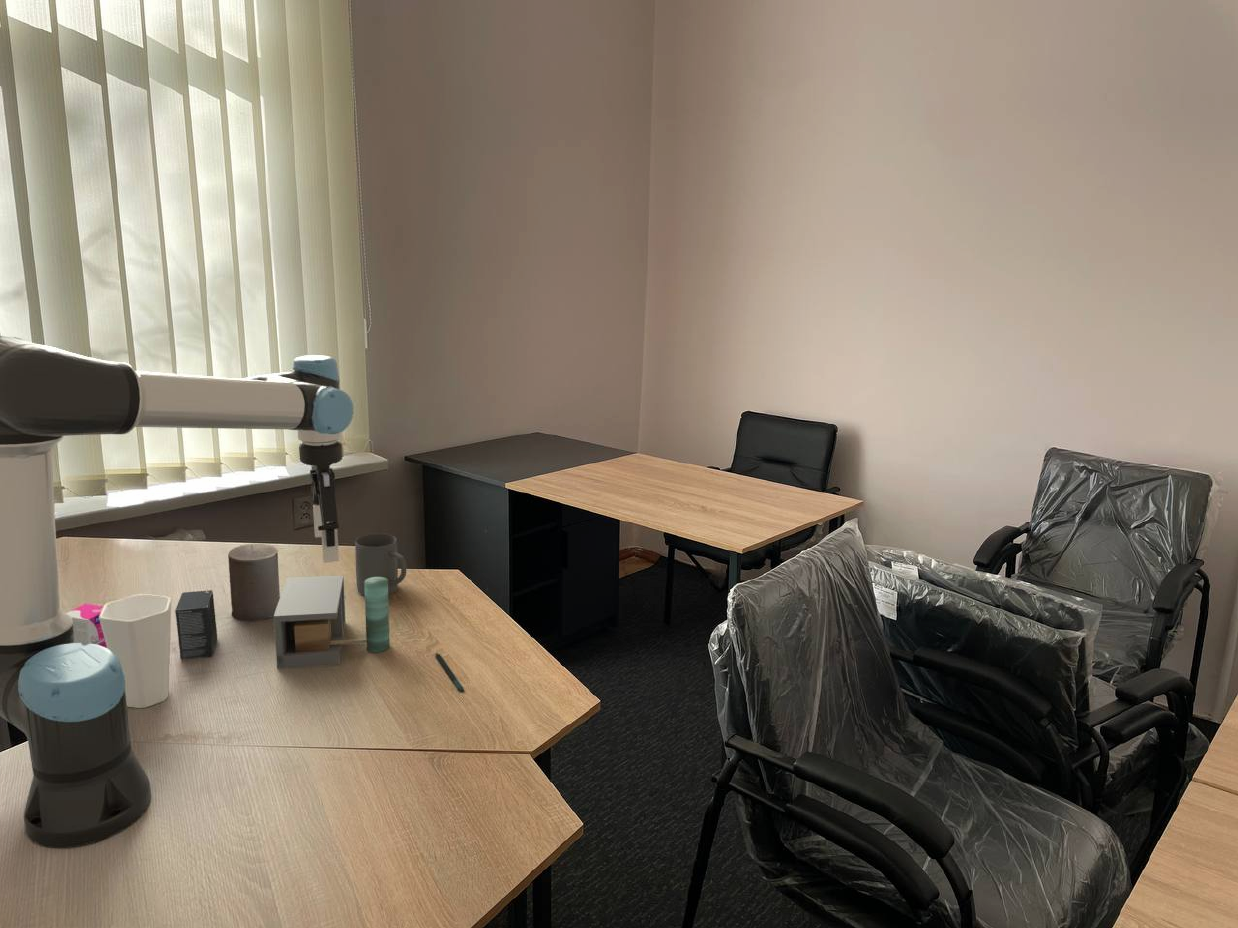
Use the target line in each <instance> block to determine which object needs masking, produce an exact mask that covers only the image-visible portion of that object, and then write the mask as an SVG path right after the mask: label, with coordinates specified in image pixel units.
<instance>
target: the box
mask: <svg viewBox="0 0 1238 928" xmlns="http://www.w3.org/2000/svg"><path fill="white" fill-rule="evenodd" d="M214 599H215V598H214V593H213V590H212V589H209V590H197V591H188V592H187V591H186V592H182V593H181V595H180V598H179V600H178V603H177V605H176V607H175V610H174V612H175V619H176V628H177V629H176V630H177V637H178V640H177V641H178V647H179V656H180V660H182V661H183V660H191V659H205V658H211V657H212V656H214V655H213V654H214V651H215V648H216V644H217V641H218V630H217V620H216V610H215V602H214Z"/></svg>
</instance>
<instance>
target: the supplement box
mask: <svg viewBox="0 0 1238 928" xmlns="http://www.w3.org/2000/svg"><path fill="white" fill-rule="evenodd" d="M103 607H104V605H103V606H102V605H97V604H96V605H95V604H89V603H83V604H82V605H80V606H77V607H76V608H74V609H71V610H70V611H68V612H65V613H66V614H68V615H69V616H71V617H72V619H73V630H74V643H82V644H83V645H88V644H96V645H100V646H103V647H105V648H107V645H106V642H105V638H104V634H103V631H102V627H101V623H100V620H99V616H100V613H101V611H102V609H103Z"/></svg>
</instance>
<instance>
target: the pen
mask: <svg viewBox="0 0 1238 928" xmlns="http://www.w3.org/2000/svg"><path fill="white" fill-rule="evenodd" d="M435 659H436V660H437V661H438V663H439V664H440V666H441V668H442V669H443V670H444V672H445V674H446V675H447V676H448V678H449V679H450V681H451V683H452V684H453V685H454V687H455V688H456V690H457V691H458V692H459V693H462V692H464V691H465V689H464V686H463V685H462V684H461V683H460V682H459V680H458V679H457V677H456V675H455V674H454V672H453V671H452V670H451V668H450V667H449V665H448V664H447V662H446V661H445V659H444V658H443V656H442V655H441V654H440V653H438V652H435Z"/></svg>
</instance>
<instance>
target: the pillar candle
mask: <svg viewBox="0 0 1238 928" xmlns="http://www.w3.org/2000/svg"><path fill="white" fill-rule="evenodd" d="M278 552H279V550H278V548H277V547H276V546H274V545H272V544H270V543H269V544H268V543H248V544H242V545H239V546H236V547H234V548H232V549H230V550H229V551H228V554H227V556H228V557H227V558H228V572H229V573H228V574H229V583H230V585H229V587H230V589H229V590H230V601H231V603H230V604H231V616H232V618H235V619H236V620H240V621H242V622H243V621H245V622H256V621H263V620H266V619H270V618H272V617H273V618H274V614H275V611H276V608H277V605H278V602H279V599H280V596H281V593H280V592H281V591H280V575H279V573H280V572H279V556H278V555H279V554H278Z"/></svg>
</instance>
